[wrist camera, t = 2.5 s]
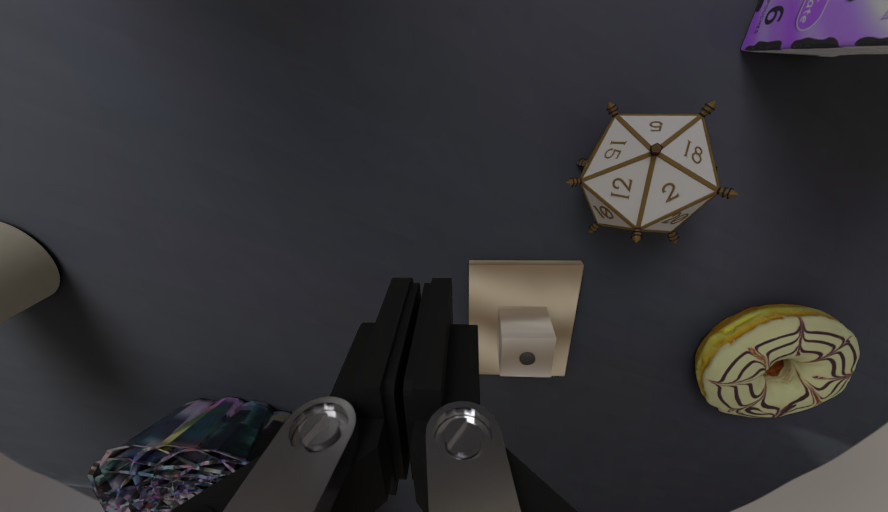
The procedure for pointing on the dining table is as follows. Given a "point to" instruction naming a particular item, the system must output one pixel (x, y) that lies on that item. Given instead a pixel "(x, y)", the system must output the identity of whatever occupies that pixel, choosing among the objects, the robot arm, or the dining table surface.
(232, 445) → the decorative bowl
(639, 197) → the game die
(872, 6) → the candy box
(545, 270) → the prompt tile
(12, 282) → the travel mug
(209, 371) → the dining table surface
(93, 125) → the dining table surface
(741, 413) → the decorated donut
